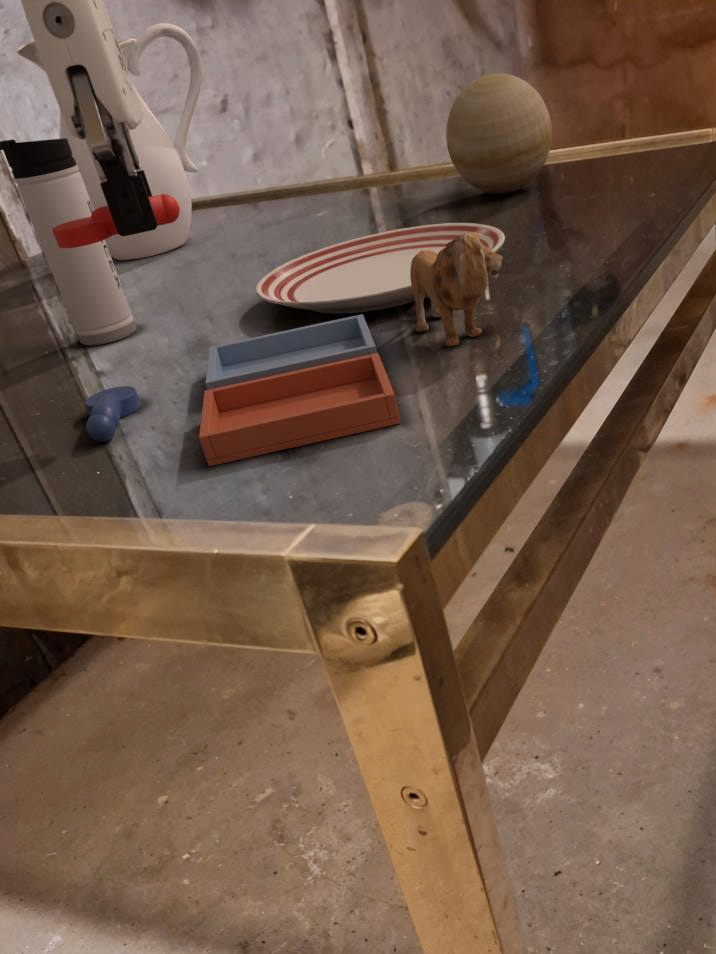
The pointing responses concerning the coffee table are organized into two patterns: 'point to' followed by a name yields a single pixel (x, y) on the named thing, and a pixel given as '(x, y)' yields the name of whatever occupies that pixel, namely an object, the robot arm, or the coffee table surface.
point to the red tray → (296, 409)
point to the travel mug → (74, 269)
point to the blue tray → (288, 351)
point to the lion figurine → (453, 282)
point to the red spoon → (109, 223)
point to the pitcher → (145, 150)
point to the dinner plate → (364, 269)
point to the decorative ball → (499, 133)
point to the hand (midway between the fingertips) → (139, 227)
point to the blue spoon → (110, 410)
